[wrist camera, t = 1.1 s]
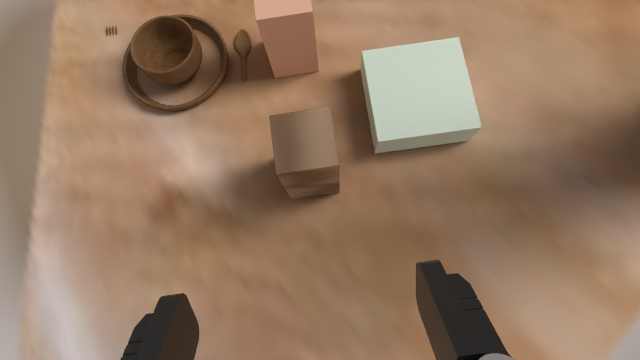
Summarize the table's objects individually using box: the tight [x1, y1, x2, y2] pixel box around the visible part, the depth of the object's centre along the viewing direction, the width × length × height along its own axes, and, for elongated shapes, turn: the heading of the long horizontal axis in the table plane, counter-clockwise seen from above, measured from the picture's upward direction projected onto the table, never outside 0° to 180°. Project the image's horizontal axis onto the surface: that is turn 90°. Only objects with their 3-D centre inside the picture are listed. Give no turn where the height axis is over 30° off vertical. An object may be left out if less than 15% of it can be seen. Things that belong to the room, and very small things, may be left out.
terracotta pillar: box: [254, 0, 319, 78], centre depth 39 cm, size 5×5×10 cm
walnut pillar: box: [269, 107, 340, 200], centre depth 35 cm, size 5×5×10 cm
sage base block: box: [360, 37, 482, 154], centre depth 40 cm, size 10×10×4 cm
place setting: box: [106, 15, 251, 111], centre depth 43 cm, size 18×20×6 cm
